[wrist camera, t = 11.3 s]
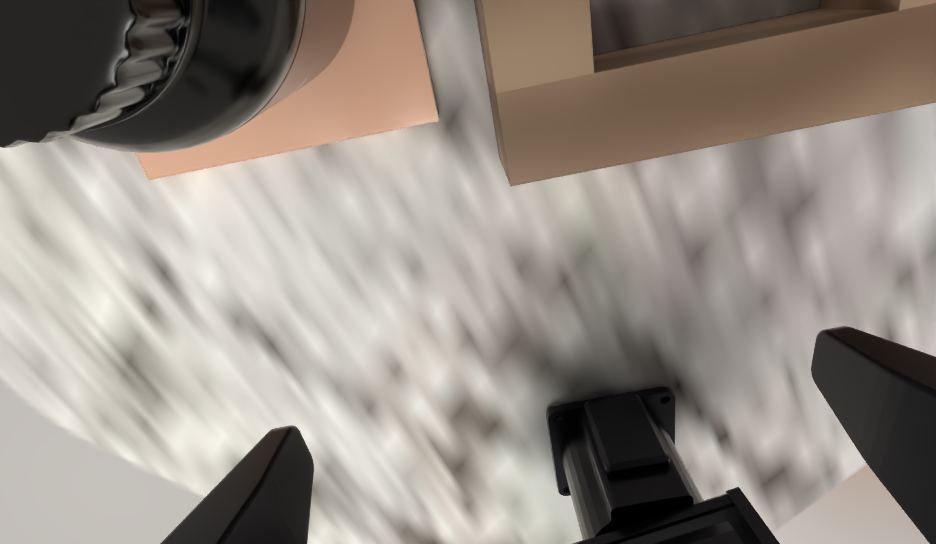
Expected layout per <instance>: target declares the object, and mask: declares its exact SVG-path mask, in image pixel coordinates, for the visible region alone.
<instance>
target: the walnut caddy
mask: <svg viewBox="0 0 936 544" xmlns="http://www.w3.org/2000/svg"><path fill="white" fill-rule="evenodd" d="M474 2H475V9H476V15H477V21H478V27H479V33H480V40H481V46H482V52H483V58H484V64H485V71H486V77H487V83H488V89H489V95H490V102H491V108H492V114H493V120H494V126H495V132H496V139H497V145H498V151H499V157H500V160H501V163H502V165H503V168H504V170H505V173H506V176H507V178H508V181H509V183H510V186H515V185H520V184H525V183H530V182H535V181H540V180H545V179H550V178H555V177H560V176H565V175H571V174H576V173H581V172H586V171H591V170H596V169H601V168H606V167H611V166H616V165H621V164H626V163H631V162H636V161H641V160H646V159H651V158H657V157H662V156H667V155H672V154H677V153H682V152H687V151H692V150H697V149H702V148H707V147H712V146H717V145H722V144H727V143H732V142H738V141H743V140H748V139H753V138H758V137H763V136H768V135H773V134H778V133H783V132H788V131H793V130H798V129H803V128H808V127H813V126H819V125H824V124H829V123H834V122H839V121H844V120H849V119H854V118H859V117H864V116H869V115H874V114H879V113H884V112H889V111H894V110H899V109H905V108H910V107H915V106H920V105H925V104H930V103H935V102H936V0H821V4H820V9H815V10H810V11H805V12H801V13H796V14H791V15H786V16H781V17H777V18H772V19H767V20H762V21H757V22H752V23H748V24H743V25H738V26H733V27H728V28H724V29H719V30H714V31H709V32H704V33H700V34H695V35H690V36H685V37H680V38H675V39H671V40H666V41H661V42H656V43H651V44H647V45H642V46H637V47H632V48H627V49H622V50H618V51H613V52H608V53H603V54H598V55H594V56H593V47H592V32H591V16H590V1H589V0H474Z"/></svg>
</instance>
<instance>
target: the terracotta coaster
mask: <svg viewBox="0 0 936 544" xmlns="http://www.w3.org/2000/svg"><path fill="white" fill-rule="evenodd" d="M435 121H439V115H438V110H437V106H436V101H435V96H434V91H433V87H432V82H431V77H430V72H429V68H428V63H427V58H426V54H425V49H424V44H423V39H422V35H421V30H420V25H419V20H418V16H417V11H416V6H415V2H414V0H355V4H354V12H353V17H352V22H351V25H350V28H349V32H348V34H347V37H346V39H345V41H344V43H343V45H342V47H341V49H340V51H339V52H338V54H337V55H336V57H335V58H334V59H333V61H332V62H331V63H330V64H329V65H328V67H327V68H326V69H325V70H323V71H322V72H321V73H320V74H319V75H318V76H317V77H315V78H314V79H313V80H311V81H310V82H309V83H307V84H306V85H304V86H303V87H301V88H300V89H298V90H297V91H295V92H294V93H292V94H291V95H289V96H288V97H286V98H285V99H283V100H281V101H280V102H278V103H277V104H275V105H274V106H272V107H271V108H269V109H268V110H266V111H265V112H263V113H262V114H260V115H259V116H257V117H256V118H254V119H252V120H251V121H249V122H248V123H246V124H245V125H243V126H241V127H240V128H238V129H236V130H234V131H233V132H231V133H229V134H227V135H225V136H223V137H220V138H218V139H216V140H213V141H211V142H209V143H206V144H203V145H200V146H197V147H193V148H189V149H184V150H179V151H172V152H161V153H137V152H135V154H136V156H137V158H138V160H139V162H140V164H141V166H142V168H143V170H144V172H145V174H146V176H147V178H148V180H152V179H157V178H162V177H167V176H172V175H176V174H181V173H186V172H191V171H196V170H201V169H206V168H211V167H216V166H220V165H225V164H230V163H235V162H240V161H245V160H250V159H255V158H260V157H264V156H269V155H274V154H279V153H284V152H289V151H294V150H299V149H304V148H308V147H313V146H318V145H323V144H328V143H333V142H338V141H343V140H347V139H352V138H357V137H362V136H367V135H372V134H377V133H382V132H387V131H391V130H396V129H401V128H406V127H411V126H416V125H421V124H426V123H431V122H435Z"/></svg>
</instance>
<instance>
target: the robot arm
mask: <svg viewBox="0 0 936 544" xmlns="http://www.w3.org/2000/svg"><path fill="white" fill-rule="evenodd" d="M811 373H812V377H813V380H814V382H815V384H816V385H817V387H818V388H819V390H820V392H821V393H822V395H823V396H824V398H825V399H826V401H827V402H828V404H829V406H830V407H831V409H832V410H833V412H834V413H835V415H836V417H837V418H838V420H839V421H840V423H841V424H842V426H843V428H844V429H845V431H846V432H847V434H848V435H849V437H850V438H851V440H852V442H853V443H854V445H855V446H856V448H857V449H858V451H859V452H860V454H861V455H862V457H863V458H864V460H865V461H866V463H867V464H868V465H869V467H870V468H871V469H872V471H873V472H874V473H875V474H876V476H877V477H878V478H879V480H880V481H881V482H882V483H883V485H884V486H885V487H886V488H887V490H888V491H889V492H890V494H891V495H892V496H893V497H894V498H895V500H896V501H897V503H898V504H899V505H900V506H901V507H902V509H903V510H904V511H905V513H906V514H907V515H908V516H909V518H910V519H911V520H912V521H913V523H914V524H915V525H916V527H917V528H918V529H919V530H920V532H921V533H922V534H923V535H924V537H925V538H926V539H927V541H928V542H929V543H930V544H936V357H935V356H932V355H929V354H926V353H923V352H920V351H917V350H914V349H912V348H909V347H906V346H903V345H900V344H897V343H894V342H892V341H889V340H886V339H883V338H880V337H877V336H874V335H871V334H869V333H866V332H863V331H860V330H857V329H854V328H851V327H847V326H843V327H837V328H831V329H825V330H822V331H820V332H819V334H818V335H817V338H816V343H815V348H814V354H813V360H812V366H811ZM664 396H665V397H664ZM662 397H664V398H662ZM556 415H559V416H557V417H554V416H556ZM546 417H547V423H548V430H549V436H550V443H551V449H552V456H553V462H554V468H555V475H556V481H557V487H558V491H559V493H560V494H561V495H563V496H569V495H571V497H572V500H573V504H574V508H575V512H576V515H577V519H578V523H579V527H580V530H581V534H582V538H583V540H582V541H579V542H576V543H573V544H780V543H779V542H778V541H777V540H776V538H775V536H774V535H773V534H772V532H771V531H770V530H769V528H768V527H767V525H766V524H765V523H764V521H763V520H762V519H761V517H760V516H759V514H758V513H757V512H756V510H755V509H754V508H753V506H752V505H751V503H750V502H749V501H748V499H747V498H746V497H745V495H744V494H743V492H742V491H741V490H740V488H739V487H737V488H734V489H731V490H728V491H726V494H723V495H720V496H717V497H714V498H711V499H708V500H705V501H703V499H702V497H701V495H700V493H699V491H698V489H697V487H696V485H695V483H694V482H693V480H692V478H691V476H690V474H689V472H688V470H687V468H686V466H685V465H684V463H683V461H682V459H681V457H680V455H679V453H678V451H677V449H676V447H675V396H674V394H673V392H672V391H671V389H670V388H667V387H660V388H654V389H648V390H643V391H637V392H632V393H626V394H620V395H615V396H609V397H603V398H598V399H592V400H586V401H581V402H575V403H570V404H564V405H558V406H554V407H551V408H550V409H548V411H547V412H546ZM313 474H314V464H313V459H312V456H311V454H310V452H309V449H308V447H307V445H306V443H305V441H304V439H303V437H302V435H301V433H300V431H299V429H298V428H297V427H296V426H286V427H280V428H275V429H272V430H271V431H269V432H268V433H267V434H266V435H265V436H264V437H263V438H262V439H261V440H260V441H259V442H258V443H257V445H256V446H255V447H254V448H253V449H252V450H251V451H250V452H249V453H248V454H247V455H246V456H245V457H244V458H243V459H242V460H241V461H240V462H239V463H238V464H237V465H236V466H235V467H234V468H233V469H232V470H231V471H230V472H229V473H228V474H227V475H226V477H225V478H224V479H223V480H222V481H221V482H220V483H219V484H218V485H217V486H216V487H215V488H214V489H213V490H212V491H211V492H210V493H209V494H208V495H207V496H206V497H205V498H204V499H203V500H202V501H201V502H200V504H198V505H197V507H196V508H195V509H194V510H193V511H192V512H191V513H190V514H189V515H188V516H187V517H186V518H185V519H184V520H183V521H182V522H181V523H180V524H179V525H178V526H177V527H176V528H175V529H174V530H173V531H172V532H171V533H170V534H169V535H168V536H167V537H166V539H165V540H164V541H163V542H162V543H161V544H307V540H308V529H309V518H310V507H311V496H312V485H313Z"/></svg>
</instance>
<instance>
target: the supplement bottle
mask: <svg viewBox="0 0 936 544" xmlns="http://www.w3.org/2000/svg"><path fill="white" fill-rule="evenodd" d="M354 4H355V0H0V147H3V148H8V147H15V146H19V145H22V144H25V143H28V142H38V143H42V142H50V141H53V140H56V139H59V138H62V137H65V136H66V137H69V138H72V139H75V140H77V141H80V142H83V143H87V144H91V145H94V146H98V147H102V148H108V149H113V150H119V151H126V152H137V153H161V152H172V151H179V150H184V149H189V148H193V147H197V146H200V145H203V144H206V143H209V142H211V141H213V140H216V139H218V138H220V137H223V136H225V135H227V134H229V133H231V132H233V131H234V130H236V129H238V128H240V127H241V126H243V125H245V124H246V123H248V122H249V121H251V120H252V119H254V118H256V117H257V116H259V115H260V114H262V113H263V112H265V111H266V110H268V109H269V108H271V107H272V106H274V105H275V104H277V103H278V102H280V101H281V100H283V99H285V98H286V97H288V96H289V95H291V94H292V93H294V92H295V91H297V90H298V89H300V88H301V87H303V86H304V85H306V84H307V83H309V82H310V81H311V80H313V79H314V78H315V77H317V76H318V75H319V74H320V73H321V72H322V71H323V70H325V69H326V68H327V67H328V65H329V64H330V63H331V62H332V61H333V59H334V58H335V57H336V55H337V54H338V52H339V51H340V49H341V47H342V45H343V43H344V41H345V39H346V37H347V34H348V32H349V28H350V25H351V22H352V17H353V12H354Z"/></svg>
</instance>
